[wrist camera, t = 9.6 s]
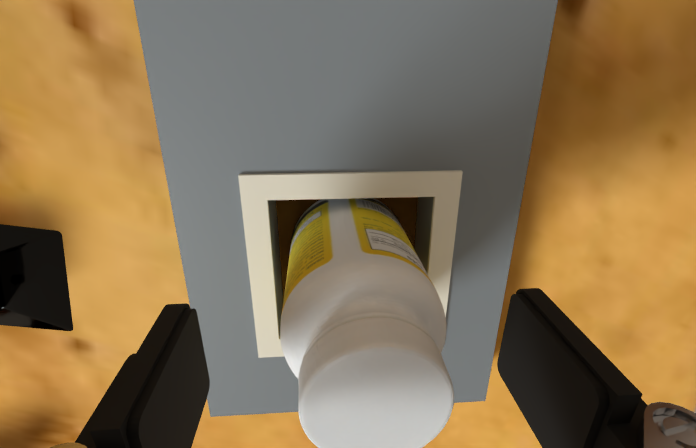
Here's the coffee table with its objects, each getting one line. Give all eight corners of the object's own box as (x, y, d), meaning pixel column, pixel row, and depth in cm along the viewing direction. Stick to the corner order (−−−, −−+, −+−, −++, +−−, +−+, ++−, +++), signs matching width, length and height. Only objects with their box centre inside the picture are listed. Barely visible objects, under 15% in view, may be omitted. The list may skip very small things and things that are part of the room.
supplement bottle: (302, 298, 20) (289, 496, 10) (281, 199, 17) (241, 339, 8) (406, 282, 20) (482, 464, 11) (397, 181, 18) (483, 301, 8)
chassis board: (152, -53, 14) (116, -79, 11) (531, -45, 14) (573, -67, 12) (222, 380, 21) (209, 420, 19) (468, 367, 22) (486, 403, 20)
